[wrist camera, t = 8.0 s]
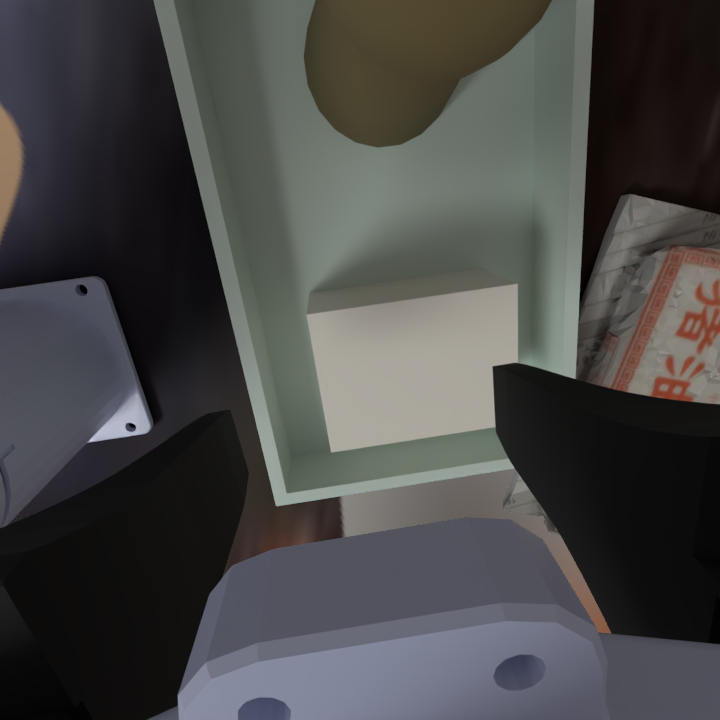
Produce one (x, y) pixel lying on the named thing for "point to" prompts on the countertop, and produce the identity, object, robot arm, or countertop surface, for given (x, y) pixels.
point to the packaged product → (648, 313)
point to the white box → (411, 355)
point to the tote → (378, 215)
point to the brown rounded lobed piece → (403, 58)
